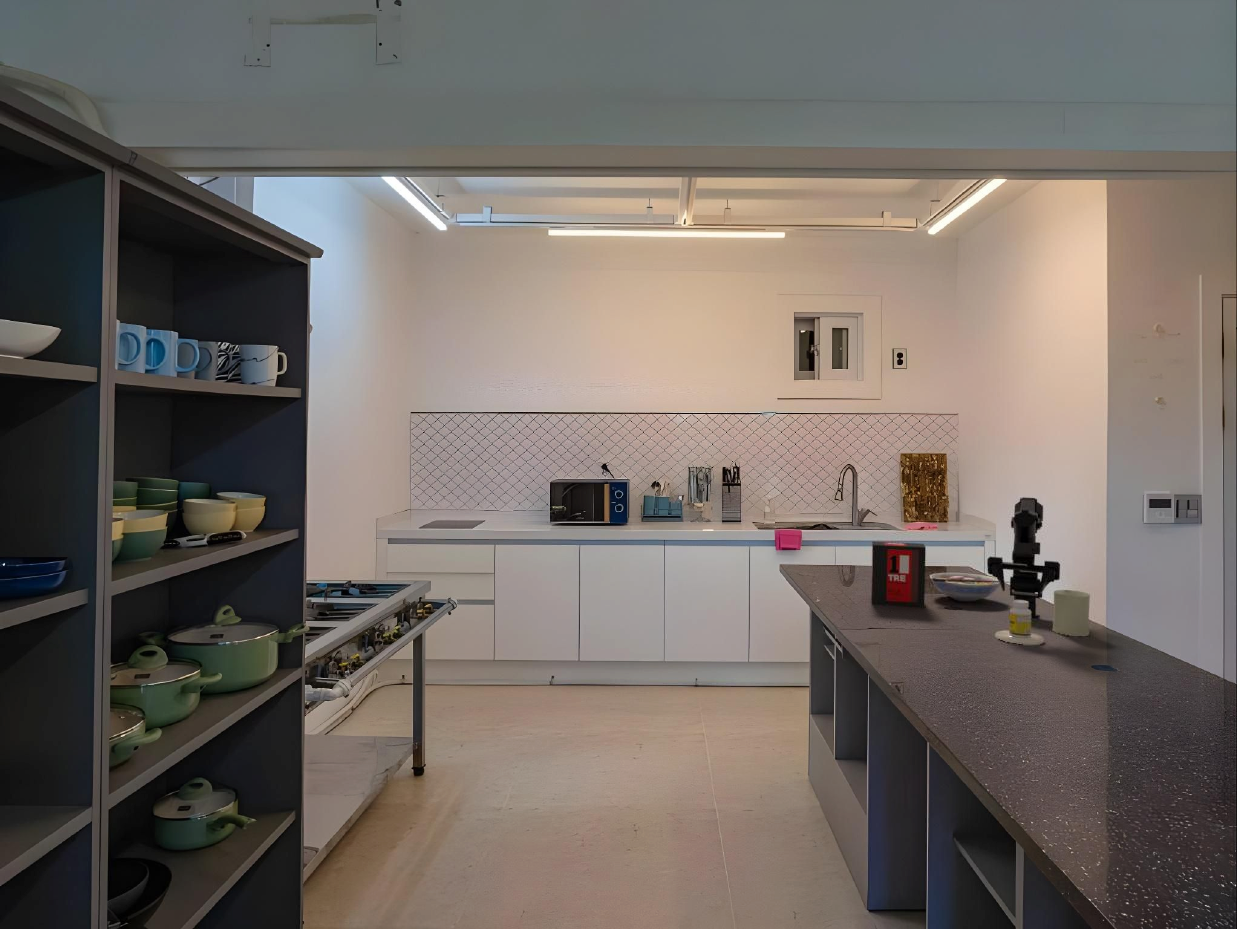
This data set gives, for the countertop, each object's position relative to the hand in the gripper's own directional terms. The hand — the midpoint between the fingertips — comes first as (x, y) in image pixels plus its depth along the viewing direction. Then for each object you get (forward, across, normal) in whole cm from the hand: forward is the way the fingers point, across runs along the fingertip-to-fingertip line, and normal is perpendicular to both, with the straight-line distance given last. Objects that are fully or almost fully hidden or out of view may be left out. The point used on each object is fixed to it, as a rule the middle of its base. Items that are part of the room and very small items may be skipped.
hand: (1021, 592), depth 222 cm
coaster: (+13, 0, +4) cm, 14 cm away
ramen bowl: (-22, -19, +40) cm, 49 cm away
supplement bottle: (+12, 0, +4) cm, 13 cm away
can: (+1, +12, +16) cm, 21 cm away
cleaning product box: (-9, -38, +27) cm, 48 cm away
